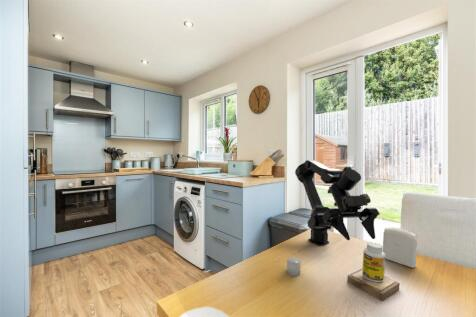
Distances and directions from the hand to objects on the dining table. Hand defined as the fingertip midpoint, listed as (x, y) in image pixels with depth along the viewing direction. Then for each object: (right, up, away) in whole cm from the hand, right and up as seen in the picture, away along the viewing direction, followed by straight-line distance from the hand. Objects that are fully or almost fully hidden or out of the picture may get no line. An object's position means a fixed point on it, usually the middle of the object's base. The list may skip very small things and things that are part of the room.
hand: (361, 239), depth 72 cm
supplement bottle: (+1, -10, -5) cm, 11 cm away
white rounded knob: (-22, -11, +1) cm, 25 cm away
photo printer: (+19, -12, +10) cm, 25 cm away
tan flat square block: (+1, -12, -5) cm, 13 cm away
